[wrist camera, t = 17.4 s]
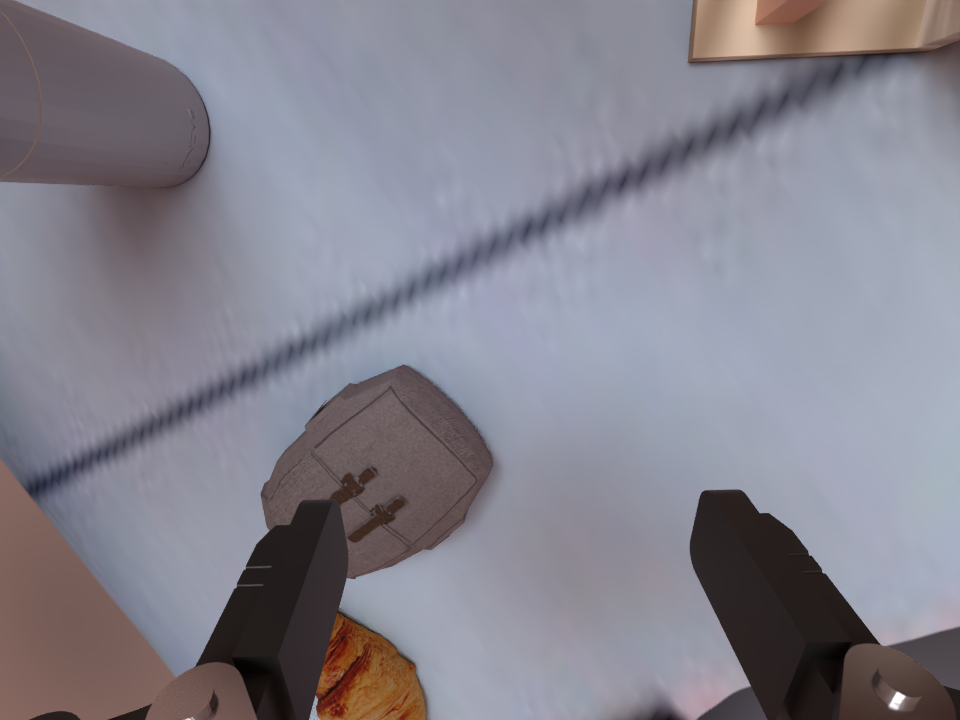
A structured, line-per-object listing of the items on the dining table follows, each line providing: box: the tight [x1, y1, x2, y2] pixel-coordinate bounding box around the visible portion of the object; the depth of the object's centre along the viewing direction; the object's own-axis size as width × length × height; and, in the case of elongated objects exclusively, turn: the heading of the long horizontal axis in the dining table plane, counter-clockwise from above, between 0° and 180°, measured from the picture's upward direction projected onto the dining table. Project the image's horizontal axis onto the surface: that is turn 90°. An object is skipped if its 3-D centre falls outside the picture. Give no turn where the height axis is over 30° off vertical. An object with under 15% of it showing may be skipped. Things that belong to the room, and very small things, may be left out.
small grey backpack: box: [261, 365, 493, 579], centre depth 42 cm, size 15×8×20 cm
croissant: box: [316, 613, 426, 720], centre depth 51 cm, size 21×10×8 cm, turn 33°
